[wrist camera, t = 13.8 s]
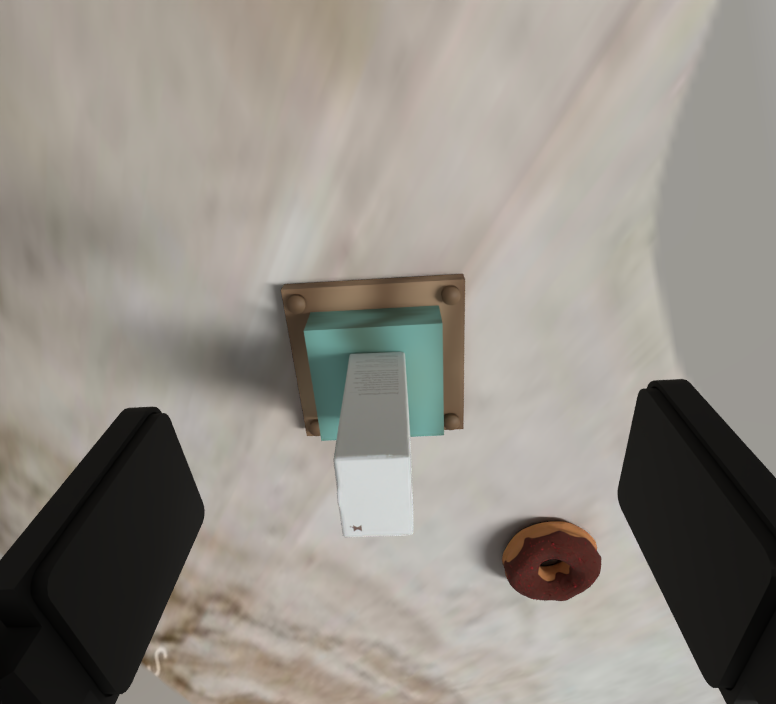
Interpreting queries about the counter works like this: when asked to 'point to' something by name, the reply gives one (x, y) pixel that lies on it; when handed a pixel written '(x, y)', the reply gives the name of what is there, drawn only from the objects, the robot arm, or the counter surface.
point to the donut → (546, 544)
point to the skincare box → (374, 448)
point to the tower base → (381, 299)
